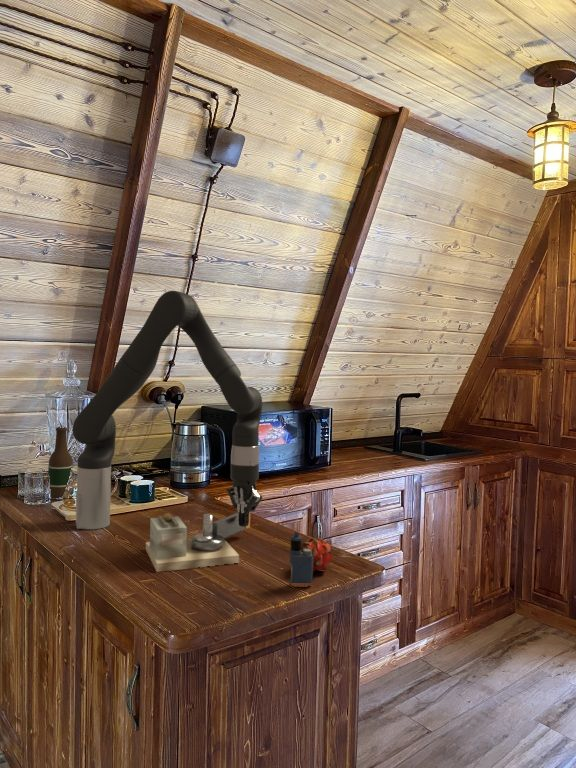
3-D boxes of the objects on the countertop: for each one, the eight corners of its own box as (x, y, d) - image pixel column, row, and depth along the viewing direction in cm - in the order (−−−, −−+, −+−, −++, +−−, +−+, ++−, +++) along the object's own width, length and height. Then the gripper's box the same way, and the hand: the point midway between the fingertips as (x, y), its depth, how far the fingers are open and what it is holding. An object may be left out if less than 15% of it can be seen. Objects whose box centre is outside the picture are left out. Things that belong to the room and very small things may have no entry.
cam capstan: (210, 553, 144) (211, 521, 144) (184, 547, 148) (185, 515, 148) (258, 530, 164) (259, 502, 164) (234, 525, 168) (235, 498, 167)
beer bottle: (57, 501, 194) (59, 429, 193) (42, 497, 199) (44, 426, 197) (77, 497, 201) (78, 427, 200) (62, 493, 205) (63, 424, 204)
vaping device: (288, 583, 134) (290, 531, 133) (311, 583, 134) (313, 531, 133) (289, 587, 131) (291, 534, 130) (312, 587, 132) (315, 534, 131)
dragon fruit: (298, 585, 137) (318, 576, 148) (328, 569, 134) (346, 561, 145) (282, 551, 140) (303, 544, 150) (311, 534, 137) (330, 529, 148)
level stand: (156, 572, 137) (158, 525, 137) (145, 549, 152) (146, 507, 151) (238, 563, 145) (240, 519, 144) (220, 543, 160) (222, 502, 159)
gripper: (219, 459, 160) (217, 522, 161) (248, 467, 151) (247, 534, 151) (241, 457, 165) (240, 518, 166) (271, 464, 156) (270, 529, 156)
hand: (243, 525), depth 159 cm, fingers closed
